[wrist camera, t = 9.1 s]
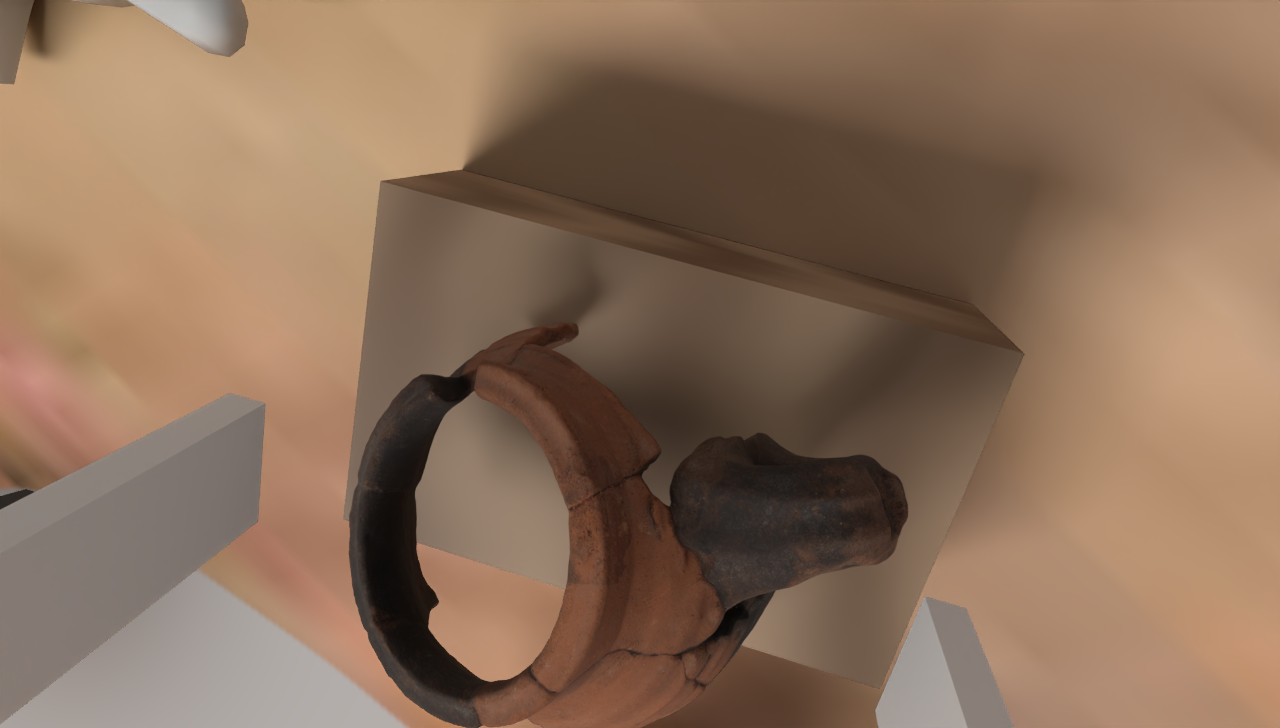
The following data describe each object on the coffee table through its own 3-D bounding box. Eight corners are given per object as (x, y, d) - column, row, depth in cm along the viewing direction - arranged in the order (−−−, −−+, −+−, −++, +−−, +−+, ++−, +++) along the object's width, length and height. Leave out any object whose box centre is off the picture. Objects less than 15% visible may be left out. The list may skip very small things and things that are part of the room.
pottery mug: (587, 684, 23) (350, 799, 16) (529, 386, 25) (296, 376, 18) (1001, 643, 17) (900, 802, 10) (880, 249, 19) (726, 156, 12)
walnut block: (420, 450, 27) (343, 519, 22) (461, 169, 24) (380, 180, 19) (862, 584, 25) (880, 689, 21) (973, 304, 22) (1024, 353, 17)
